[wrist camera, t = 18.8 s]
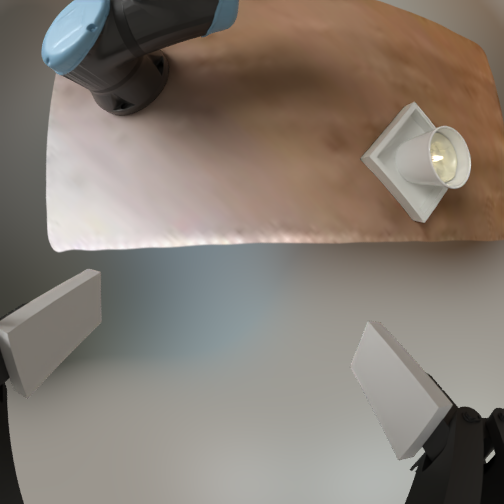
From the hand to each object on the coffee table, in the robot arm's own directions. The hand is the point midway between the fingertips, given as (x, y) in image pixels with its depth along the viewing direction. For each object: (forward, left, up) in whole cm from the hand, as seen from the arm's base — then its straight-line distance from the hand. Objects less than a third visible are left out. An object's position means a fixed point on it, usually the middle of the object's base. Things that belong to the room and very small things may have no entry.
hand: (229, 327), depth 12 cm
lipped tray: (+15, +31, -35) cm, 49 cm away
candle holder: (+15, +31, -34) cm, 48 cm away
